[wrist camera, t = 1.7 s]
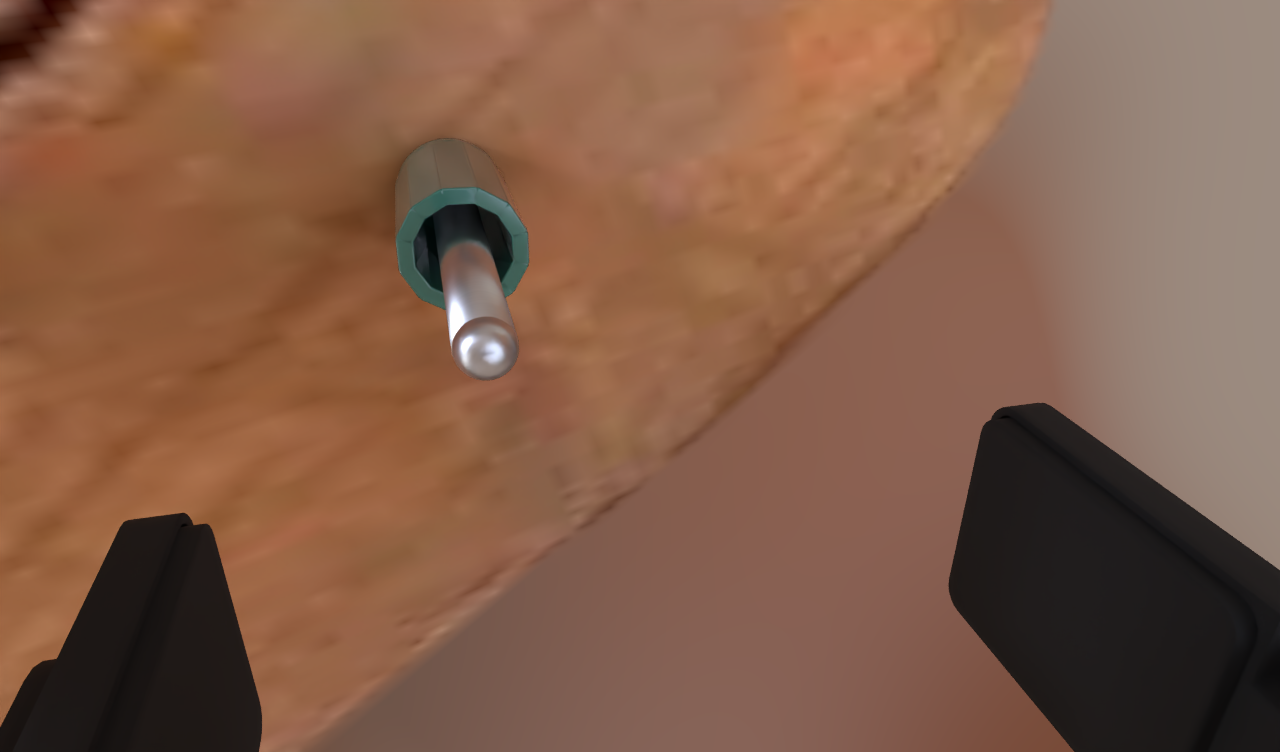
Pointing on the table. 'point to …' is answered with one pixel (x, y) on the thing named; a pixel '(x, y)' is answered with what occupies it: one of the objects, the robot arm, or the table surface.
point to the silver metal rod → (473, 295)
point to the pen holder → (454, 179)
